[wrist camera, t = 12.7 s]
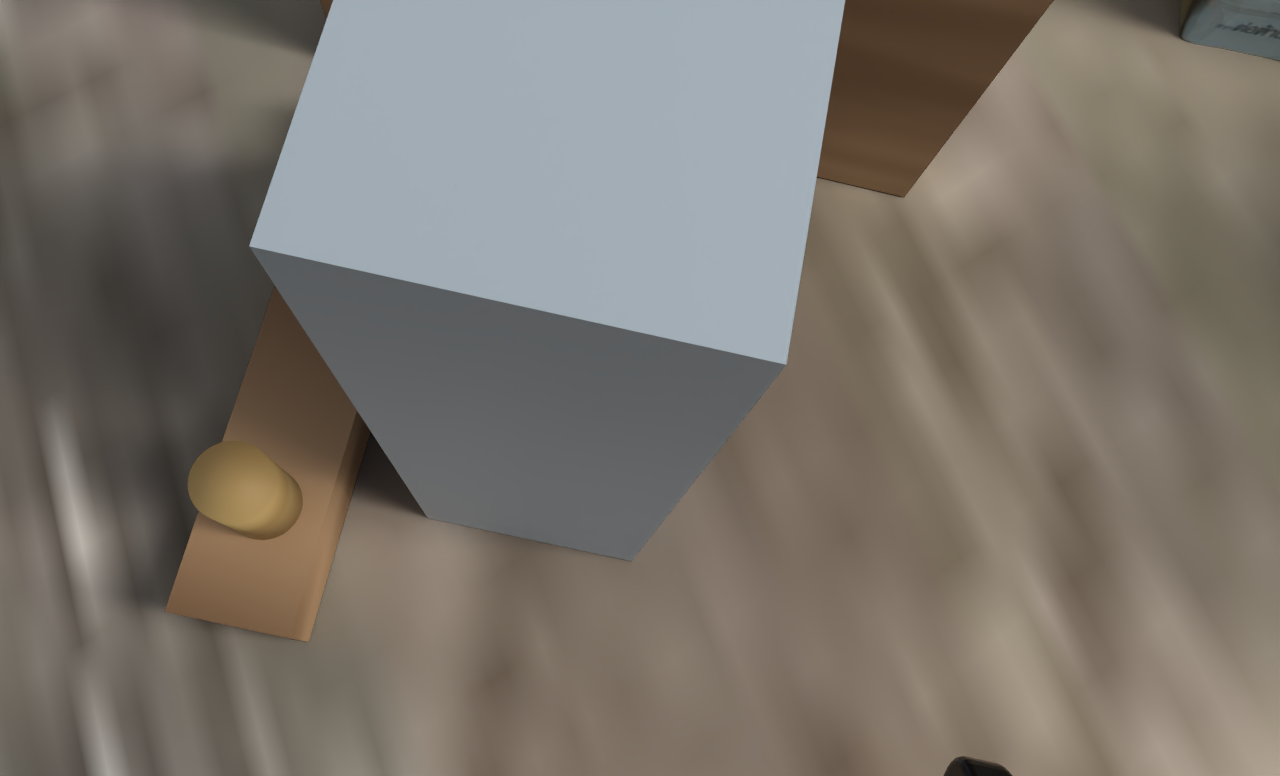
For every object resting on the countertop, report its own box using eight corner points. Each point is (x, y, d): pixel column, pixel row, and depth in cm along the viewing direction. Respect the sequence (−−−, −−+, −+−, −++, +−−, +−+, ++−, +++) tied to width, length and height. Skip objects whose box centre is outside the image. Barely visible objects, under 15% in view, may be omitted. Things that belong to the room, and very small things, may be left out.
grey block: (631, 561, 19) (785, 365, 7) (427, 518, 18) (249, 245, 7) (680, 312, 20) (875, -184, 9) (492, 270, 20) (433, -292, 8)
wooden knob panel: (826, 752, 18) (1157, 832, 8) (154, 608, 17) (-304, 520, 8) (913, 131, 22) (1212, -303, 12) (362, 0, 21) (220, -558, 12)
